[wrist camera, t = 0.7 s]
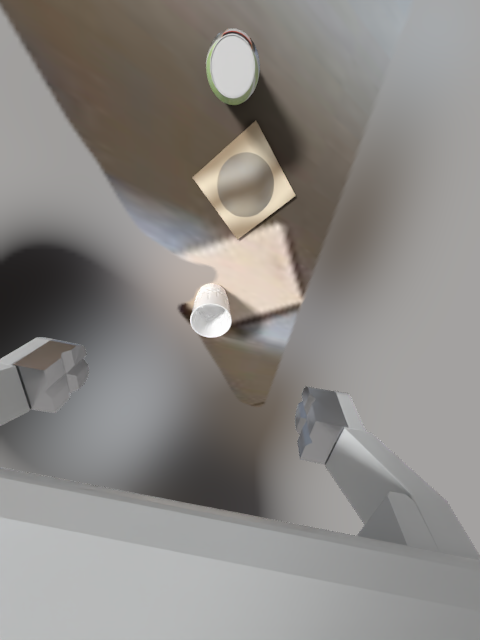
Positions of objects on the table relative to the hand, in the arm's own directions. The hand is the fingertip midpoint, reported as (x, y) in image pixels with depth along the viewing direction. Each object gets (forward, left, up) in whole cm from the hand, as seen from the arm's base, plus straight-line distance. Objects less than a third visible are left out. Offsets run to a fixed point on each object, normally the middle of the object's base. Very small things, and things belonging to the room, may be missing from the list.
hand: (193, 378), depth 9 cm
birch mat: (+2, +6, -43) cm, 43 cm away
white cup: (+15, -13, -43) cm, 47 cm away
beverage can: (-10, +12, -43) cm, 46 cm away
